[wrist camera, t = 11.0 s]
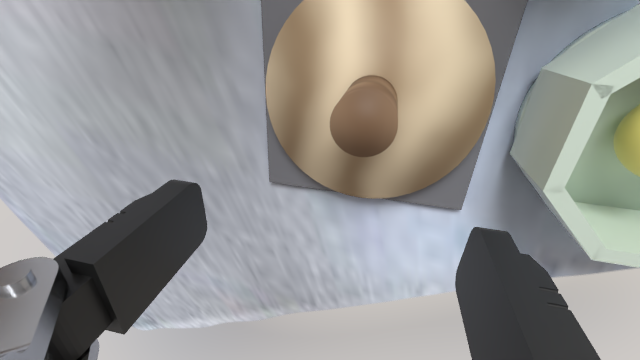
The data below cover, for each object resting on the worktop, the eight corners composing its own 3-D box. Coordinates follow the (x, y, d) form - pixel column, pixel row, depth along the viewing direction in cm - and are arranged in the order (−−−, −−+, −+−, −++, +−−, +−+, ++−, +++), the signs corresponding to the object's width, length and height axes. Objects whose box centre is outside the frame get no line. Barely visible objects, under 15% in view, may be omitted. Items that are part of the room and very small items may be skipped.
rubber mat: (271, 179, 30) (269, 181, 30) (262, -40, 22) (259, -42, 21) (459, 206, 27) (461, 210, 26) (535, -37, 18) (539, -39, 18)
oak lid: (274, 178, 29) (242, 220, 23) (266, -32, 21) (212, -54, 15) (457, 204, 26) (475, 260, 20) (527, -29, 18) (595, -56, 12)
